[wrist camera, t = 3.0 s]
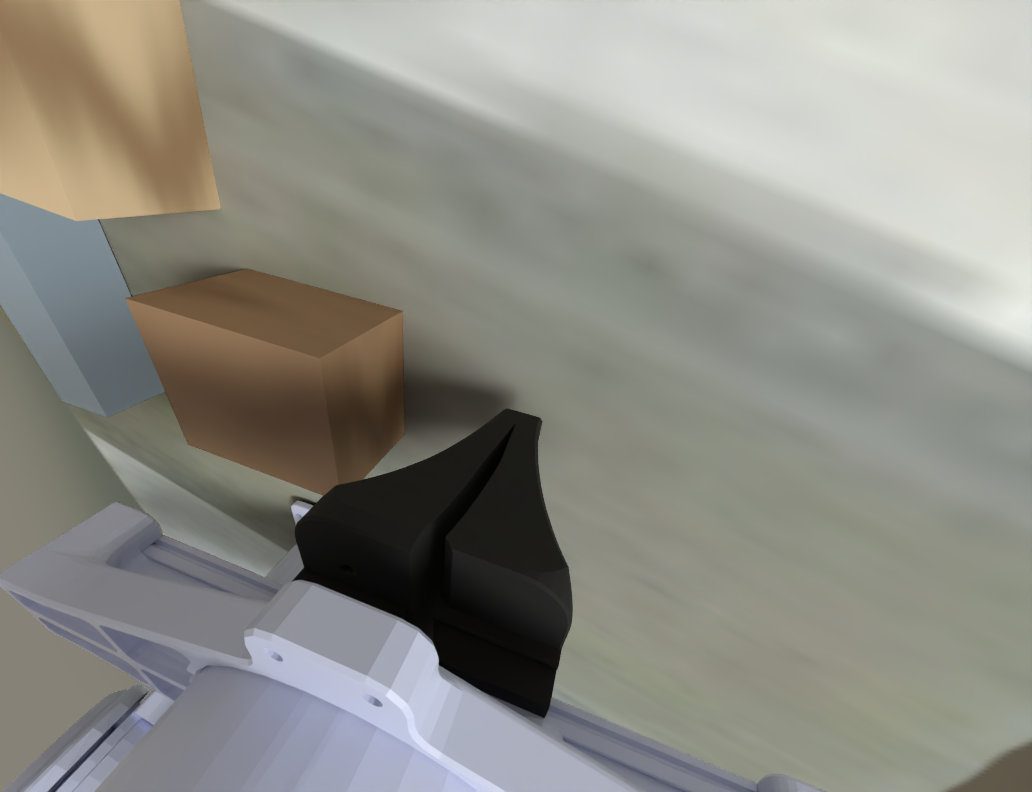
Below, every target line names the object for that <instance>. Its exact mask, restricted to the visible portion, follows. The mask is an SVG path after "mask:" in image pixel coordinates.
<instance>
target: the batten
mask: <svg viewBox="0 0 1032 792" xmlns="http://www.w3.org/2000/svg"><path fill="white" fill-rule="evenodd" d="M128 297H132V296H131V294H130V292H129V290H128V287H127V285H126V283H125V280H124V278H123V276H122V273H121V271H120V269H119V267H118V264H117V262H116V260H115V257H114V255H113V253H112V250H111V248H110V246H109V244H108V241H107V239H106V237H105V234H104V232H103V230H102V227H101V225H100V223H99V221H98V219H96V220H84V221H75V220H72V219H69V218H66V217H64V216H61V215H58V214H55V213H53V212H50V211H47V210H45V209H42V208H39V207H36V206H34V205H31V204H28V203H25V202H23V201H20V200H17V199H15V198H12V197H9V196H6V195H4V194H1V193H0V305H1V306H2V308H3V309H4V311H5V312H6V314H7V316H8V317H9V319H10V320H11V322H12V323H13V325H14V327H15V328H16V330H17V331H18V333H19V334H20V336H21V338H22V339H23V341H24V342H25V344H26V345H27V347H28V349H29V350H30V352H31V353H32V355H33V356H34V358H35V360H36V361H37V363H38V364H39V366H40V367H41V369H42V371H43V372H44V374H45V375H46V377H47V378H48V380H49V382H50V383H51V385H52V386H53V388H54V389H55V391H56V393H57V394H58V396H59V397H60V399H61V400H62V401H63V402H65V403H68V404H71V405H74V406H76V407H79V408H82V409H85V410H88V411H90V412H93V413H96V414H99V415H101V416H104V417H107V418H108V417H110V416H112V415H114V414H117V413H119V412H121V411H123V410H125V409H128V408H130V407H132V406H134V405H136V404H139V403H141V402H143V401H145V400H147V399H150V398H152V397H154V396H156V395H159V394H161V393H163V392H165V390H164V388H163V385H162V383H161V381H160V378H159V376H158V374H157V371H156V369H155V367H154V364H153V362H152V360H151V358H150V355H149V353H148V351H147V348H146V346H145V344H144V341H143V339H142V337H141V334H140V332H139V330H138V327H137V325H136V323H135V320H134V318H133V316H132V314H131V311H130V309H129V307H128V304H127V302H126V300H125V298H128Z"/></svg>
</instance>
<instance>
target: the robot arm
mask: <svg viewBox="0 0 1032 792" xmlns="http://www.w3.org/2000/svg"><path fill="white" fill-rule="evenodd" d="M541 425H542V420H541V419H540V418H539V417H536V416H532V415H529V414H525V413H522V412H518V411H515V410H511V409H508V408H507V409H505V410H503V411H502V412H501V413H500V414H498V415H497V416H496V417H495V418H493V419H492V420H491V421H489V422H488V423H487V424H485V425H484V426H482V427H481V428H480V429H478V430H477V431H475V432H474V433H472V434H471V435H469V436H468V437H466V438H465V439H463V440H461V441H460V442H458V443H456V444H455V445H453V446H451V447H449V448H448V449H446V450H444V451H442V452H440V453H438V454H436V455H434V456H432V457H430V458H428V459H425V460H423V461H420V462H418V463H415V464H413V465H410V466H407V467H405V468H402V469H399V470H396V471H393V472H390V473H386V474H383V475H379V476H376V477H372V478H368V479H364V480H359V481H354V482H350V483H345V484H340V485H335V486H334V487H333V488H332V489H331V490H330V491H329V492H327V493H326V494H325V495H324V496H323V497H322V498H321V499H320V500H319V501H318V502H317V503H316V504H315V505H314V506H313V505H310V504H307V503H305V502H302V501H296V502H295V503H294V504H292V506H291V510H292V513H293V517H294V520H295V524H296V527H295V537H296V542H297V544H296V545H295V546H294V547H293V548H292V549H291V550H290V551H289V552H288V553H287V554H286V555H285V556H284V557H283V558H282V559H281V561H280V562H279V563H278V564H277V565H276V566H275V567H274V568H273V569H272V570H271V571H270V572H269V573H268V574H267V575H266V576H265V577H263V576H260V575H258V574H255V573H253V572H251V571H248V570H246V569H243V568H241V567H239V566H236V565H234V564H232V563H229V562H227V561H224V560H222V559H220V558H217V557H215V556H212V555H210V554H208V553H205V552H203V551H200V550H198V549H196V548H193V547H191V546H188V545H186V544H184V543H181V542H179V541H177V540H174V539H172V538H169V537H167V536H165V535H163V532H162V529H161V527H160V526H159V524H158V523H157V521H156V520H155V519H154V518H153V517H151V516H150V515H148V514H147V513H145V512H142V511H140V510H138V509H135V508H133V507H130V506H128V505H125V504H123V503H120V502H114V503H112V504H111V505H109V506H107V507H106V508H104V509H103V510H101V511H99V512H98V513H96V514H94V515H93V516H91V517H90V518H88V519H86V520H85V521H83V522H82V523H80V524H78V525H77V526H75V527H73V528H72V529H70V530H69V531H67V532H65V533H64V534H63V535H61V536H59V537H57V538H56V539H54V540H53V541H51V542H49V543H48V544H46V545H44V546H43V547H41V548H40V549H38V550H36V551H35V552H33V553H31V554H30V555H28V556H27V557H25V558H23V559H22V560H20V561H19V562H17V563H15V564H14V565H12V566H11V567H9V568H7V569H6V570H4V571H2V572H1V573H0V587H1V588H3V589H4V590H5V591H6V592H7V593H8V594H9V595H10V596H11V597H13V598H14V599H15V600H16V601H17V602H18V603H19V604H20V605H21V606H23V607H24V608H25V609H26V610H27V611H28V612H29V613H30V614H32V615H33V616H34V617H35V618H36V619H37V620H38V621H39V622H40V623H41V624H42V625H44V626H45V627H46V628H47V629H48V630H49V631H50V632H52V633H54V634H56V635H58V636H59V637H62V638H63V639H65V640H67V641H69V642H71V643H73V644H75V645H77V646H78V647H80V648H82V649H84V650H86V651H88V652H89V653H91V654H93V655H95V656H97V657H98V658H100V659H102V660H104V661H106V662H107V663H109V664H111V665H112V666H114V667H116V668H118V669H119V670H121V671H123V672H125V673H126V674H128V675H130V676H131V677H133V678H135V679H136V680H138V681H140V682H142V683H143V684H145V685H146V686H148V687H150V688H152V689H153V691H152V692H151V693H150V694H149V696H147V698H145V700H144V701H143V702H142V703H141V704H140V702H141V700H142V699H143V698H144V697H145V695H147V693H148V692H149V690H148V689H147V688H145V687H144V686H142V685H140V684H138V685H134V686H132V687H131V688H130V689H128V690H127V689H125V690H121V691H118V692H114V693H111V694H109V695H108V696H107V697H105V698H104V699H103V700H101V701H100V702H99V703H98V704H96V705H95V706H94V707H93V708H92V709H90V710H89V711H88V712H87V713H86V714H85V715H84V716H83V717H81V718H80V719H79V720H78V721H77V722H76V723H75V724H73V725H72V726H71V727H70V728H69V729H68V730H67V731H66V732H65V733H64V734H62V735H61V736H60V737H59V738H58V739H57V740H56V741H55V742H54V743H53V744H52V745H51V746H50V747H49V748H47V749H46V750H45V751H44V752H43V753H42V754H41V755H40V756H39V757H38V758H37V759H36V760H35V761H34V762H33V763H31V764H30V765H29V766H28V767H27V768H26V769H25V770H24V771H23V772H22V773H21V774H20V775H19V776H18V777H17V778H16V779H15V780H14V781H13V782H12V783H11V784H10V785H9V786H8V787H6V788H5V789H4V790H3V791H2V792H827V791H824V790H822V789H819V788H817V787H814V786H812V785H809V784H807V783H805V782H802V781H800V780H797V779H795V778H792V777H789V776H786V775H781V774H770V775H767V776H765V777H763V778H762V779H761V780H760V781H759V782H758V783H755V782H753V781H751V780H748V779H746V778H743V777H741V776H739V775H736V774H734V773H731V772H729V771H727V770H724V769H722V768H720V767H717V766H715V765H712V764H710V763H708V762H705V761H703V760H700V759H698V758H696V757H693V756H691V755H688V754H686V753H684V752H681V751H679V750H676V749H674V748H672V747H669V746H667V745H664V744H662V743H660V742H657V741H655V740H653V739H650V738H648V737H645V736H643V735H641V734H638V733H636V732H633V731H631V730H629V729H626V728H624V727H621V726H619V725H617V724H614V723H612V722H609V721H607V720H605V719H602V718H600V717H598V716H595V715H593V714H590V713H588V712H586V711H583V710H581V709H578V708H576V707H574V706H571V705H569V704H566V703H564V702H562V701H559V700H557V699H554V698H552V692H553V686H554V681H555V675H556V670H557V668H558V665H559V660H560V655H561V649H562V646H563V644H564V642H565V639H566V637H567V635H568V632H569V630H570V627H571V623H572V611H573V605H572V591H571V582H570V575H569V568H568V565H567V563H566V561H565V559H564V557H563V555H562V552H561V550H560V548H559V545H558V543H557V540H556V537H555V535H554V532H553V529H552V526H551V523H550V520H549V517H548V513H547V510H546V506H545V502H544V498H543V493H542V488H541V482H540V475H539V466H538V439H539V435H540V430H541Z"/></svg>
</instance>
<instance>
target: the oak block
mask: <svg viewBox="0 0 1032 792" xmlns="http://www.w3.org/2000/svg"><path fill="white" fill-rule="evenodd" d="M0 193H1V194H4V195H6V196H9V197H12V198H15V199H17V200H20V201H23V202H25V203H28V204H31V205H34V206H36V207H39V208H42V209H45V210H47V211H50V212H53V213H55V214H58V215H61V216H64V217H66V218H69V219H72V220H75V221H84V220H96V219H108V218H120V217H133V216H145V215H157V214H169V213H181V212H193V211H205V210H217V209H221V208H220V203H219V198H218V193H217V188H216V183H215V178H214V173H213V168H212V163H211V158H210V152H209V147H208V142H207V137H206V132H205V127H204V122H203V117H202V112H201V107H200V102H199V97H198V92H197V87H196V81H195V76H194V71H193V66H192V61H191V56H190V51H189V46H188V41H187V36H186V31H185V26H184V21H183V16H182V11H181V5H180V0H0Z"/></svg>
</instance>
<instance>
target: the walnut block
mask: <svg viewBox="0 0 1032 792" xmlns="http://www.w3.org/2000/svg"><path fill="white" fill-rule="evenodd" d="M125 300H126V302H127V304H128V307H129V309H130V311H131V314H132V316H133V318H134V320H135V323H136V325H137V327H138V330H139V332H140V334H141V337H142V339H143V341H144V344H145V346H146V348H147V351H148V353H149V355H150V358H151V360H152V362H153V364H154V367H155V369H156V371H157V374H158V376H159V378H160V381H161V383H162V385H163V388H164V390H165V392H166V395H167V397H168V399H169V401H170V404H171V406H172V408H173V411H174V413H175V415H176V418H177V420H178V422H179V425H180V427H181V429H182V432H183V434H184V436H185V438H186V441H187V443H188V445H191V446H194V447H196V448H199V449H202V450H204V451H207V452H209V453H212V454H215V455H217V456H220V457H223V458H225V459H228V460H231V461H233V462H236V463H239V464H241V465H244V466H247V467H249V468H252V469H255V470H257V471H260V472H263V473H265V474H268V475H270V476H273V477H276V478H278V479H281V480H284V481H286V482H289V483H292V484H294V485H297V486H300V487H302V488H305V489H308V490H310V491H313V492H316V493H318V494H321V495H323V496H324V495H325V494H326V493H327V492H329V491H330V490H331V489H332V488H333V487H334V486H335V485H340V484H345V483H350V482H354V481H359V480H363V479H364V478H365V476H366V475H367V474H368V473H369V472H370V471H371V470H372V469H373V468H374V467H375V466H376V465H377V464H378V462H379V461H380V460H381V459H382V458H383V457H384V456H385V455H386V454H387V453H388V452H389V451H390V449H391V448H392V447H393V446H394V445H395V444H396V443H397V442H398V441H399V440H400V439H401V438H402V437H403V435H404V357H403V311H401V310H397V309H394V308H390V307H386V306H383V305H379V304H375V303H372V302H368V301H364V300H361V299H357V298H353V297H350V296H346V295H342V294H339V293H335V292H331V291H328V290H324V289H320V288H317V287H313V286H309V285H306V284H302V283H298V282H295V281H291V280H287V279H284V278H280V277H276V276H273V275H269V274H265V273H262V272H258V271H254V270H251V269H244V270H240V271H236V272H232V273H227V274H223V275H219V276H215V277H211V278H207V279H202V280H198V281H194V282H190V283H186V284H182V285H178V286H173V287H169V288H165V289H161V290H157V291H153V292H148V293H144V294H140V295H136V296H132V297H128V298H125Z"/></svg>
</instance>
